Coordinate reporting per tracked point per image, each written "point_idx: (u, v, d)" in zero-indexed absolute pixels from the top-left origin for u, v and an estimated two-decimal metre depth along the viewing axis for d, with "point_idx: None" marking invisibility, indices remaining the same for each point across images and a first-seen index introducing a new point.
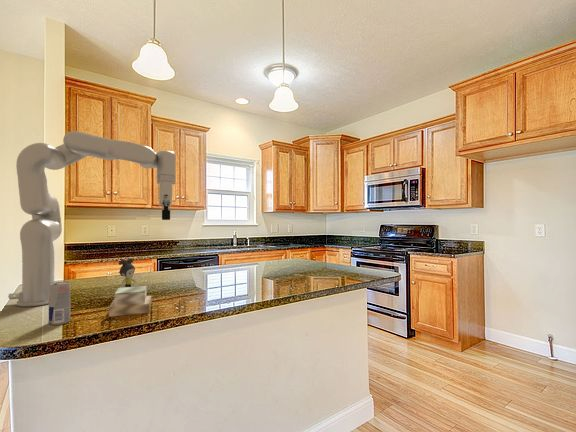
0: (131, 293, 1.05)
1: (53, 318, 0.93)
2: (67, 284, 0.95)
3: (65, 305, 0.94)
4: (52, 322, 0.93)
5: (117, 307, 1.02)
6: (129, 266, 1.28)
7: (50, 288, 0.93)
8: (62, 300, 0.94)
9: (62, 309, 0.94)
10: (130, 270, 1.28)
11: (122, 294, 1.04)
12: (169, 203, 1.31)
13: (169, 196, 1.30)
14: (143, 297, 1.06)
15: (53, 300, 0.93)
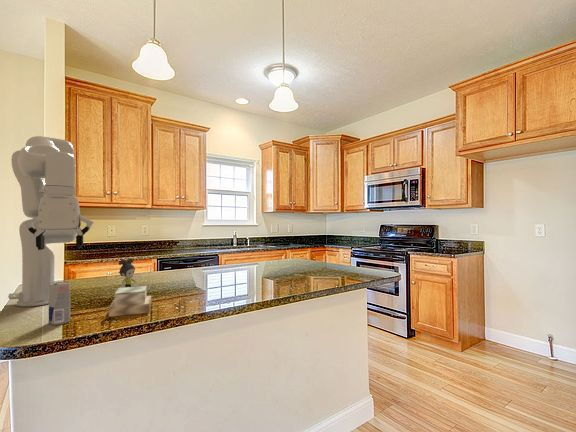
0: (131, 293, 1.05)
1: (53, 318, 0.93)
2: (67, 284, 0.95)
3: (65, 305, 0.94)
4: (52, 322, 0.93)
5: (117, 307, 1.02)
6: (129, 266, 1.28)
7: (50, 288, 0.93)
8: (62, 300, 0.94)
9: (62, 309, 0.94)
10: (130, 270, 1.28)
11: (122, 294, 1.04)
12: (78, 226, 0.98)
13: None
14: (143, 297, 1.06)
15: (53, 300, 0.93)
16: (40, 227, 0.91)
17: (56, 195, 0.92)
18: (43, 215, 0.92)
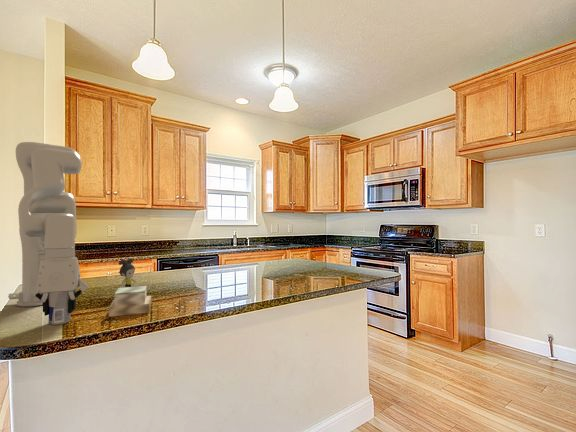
0: (131, 293, 1.05)
1: (53, 318, 0.93)
2: None
3: (65, 305, 0.94)
4: (52, 322, 0.93)
5: (117, 307, 1.02)
6: (129, 266, 1.28)
7: None
8: (62, 300, 0.94)
9: (62, 309, 0.94)
10: (130, 270, 1.28)
11: (122, 294, 1.04)
12: None
13: (79, 276, 0.98)
14: (143, 297, 1.06)
15: (53, 300, 0.93)
16: (39, 291, 0.91)
17: (56, 258, 0.92)
18: (43, 278, 0.92)
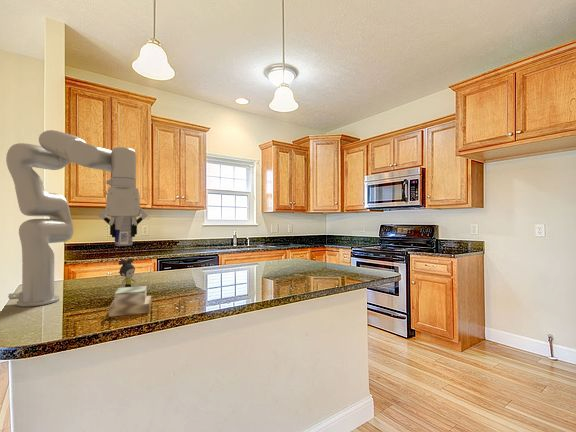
0: (131, 293, 1.05)
1: (119, 239, 1.04)
2: None
3: (128, 229, 1.06)
4: (118, 243, 1.04)
5: (117, 307, 1.02)
6: (129, 266, 1.28)
7: None
8: (127, 224, 1.05)
9: (126, 232, 1.05)
10: (130, 270, 1.28)
11: (122, 294, 1.04)
12: (135, 216, 1.10)
13: None
14: (143, 297, 1.06)
15: (119, 223, 1.04)
16: (108, 214, 1.03)
17: (122, 186, 1.04)
18: (111, 203, 1.04)
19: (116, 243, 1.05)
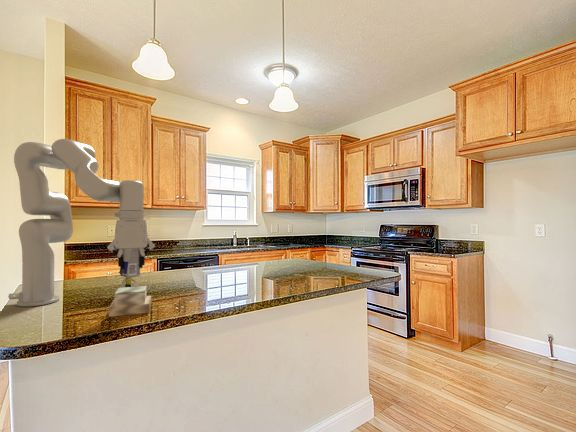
0: (131, 293, 1.05)
1: (128, 271, 1.06)
2: None
3: (137, 260, 1.08)
4: (127, 275, 1.06)
5: (117, 307, 1.02)
6: None
7: None
8: (135, 256, 1.07)
9: (134, 263, 1.07)
10: None
11: (122, 294, 1.04)
12: None
13: (147, 236, 1.12)
14: (143, 297, 1.06)
15: (127, 255, 1.06)
16: (117, 247, 1.05)
17: (130, 219, 1.05)
18: (119, 236, 1.05)
19: (124, 275, 1.06)
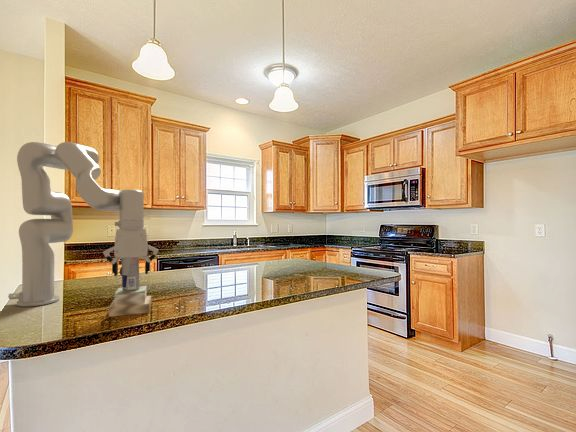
0: (131, 293, 1.05)
1: (127, 285, 1.06)
2: None
3: (136, 273, 1.07)
4: (126, 288, 1.06)
5: (117, 307, 1.02)
6: None
7: (123, 259, 1.06)
8: (134, 270, 1.07)
9: (133, 277, 1.07)
10: None
11: (122, 294, 1.04)
12: None
13: None
14: (143, 297, 1.06)
15: (126, 269, 1.06)
16: (117, 256, 1.05)
17: (130, 228, 1.05)
18: (119, 245, 1.05)
19: (124, 288, 1.06)
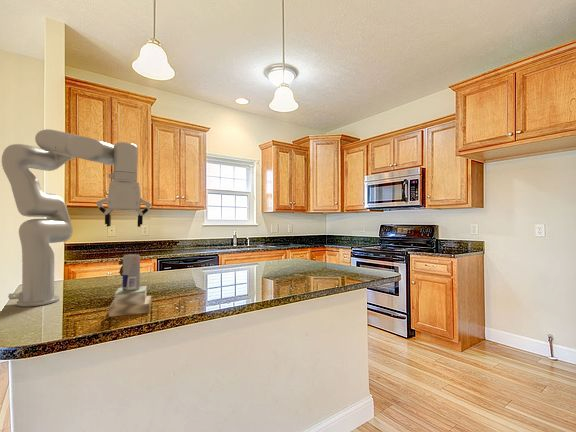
0: (131, 293, 1.05)
1: (127, 285, 1.06)
2: (138, 256, 1.09)
3: (136, 274, 1.08)
4: (126, 288, 1.06)
5: (117, 307, 1.02)
6: None
7: (125, 258, 1.06)
8: (135, 270, 1.07)
9: (134, 277, 1.07)
10: None
11: (122, 294, 1.04)
12: (138, 207, 1.13)
13: None
14: (143, 297, 1.06)
15: (127, 269, 1.06)
16: (109, 207, 1.07)
17: (123, 180, 1.07)
18: (112, 196, 1.07)
19: (124, 288, 1.06)
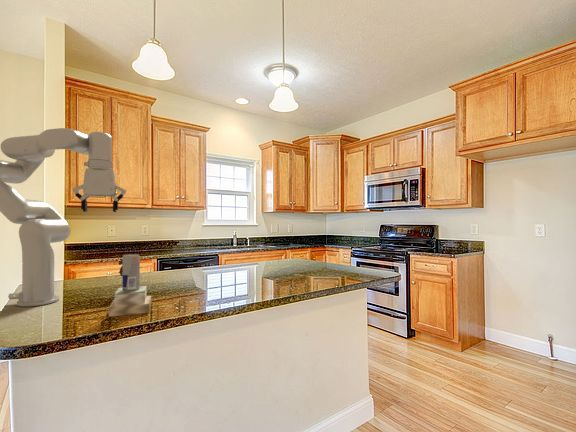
0: (131, 293, 1.05)
1: (127, 285, 1.06)
2: (138, 256, 1.09)
3: (136, 274, 1.08)
4: (126, 288, 1.06)
5: (117, 307, 1.02)
6: None
7: (124, 259, 1.06)
8: (135, 270, 1.07)
9: (134, 277, 1.07)
10: None
11: (122, 294, 1.04)
12: (114, 194, 1.20)
13: None
14: (143, 297, 1.06)
15: (127, 269, 1.06)
16: (85, 193, 1.13)
17: (98, 167, 1.13)
18: (87, 183, 1.13)
19: (124, 288, 1.06)
